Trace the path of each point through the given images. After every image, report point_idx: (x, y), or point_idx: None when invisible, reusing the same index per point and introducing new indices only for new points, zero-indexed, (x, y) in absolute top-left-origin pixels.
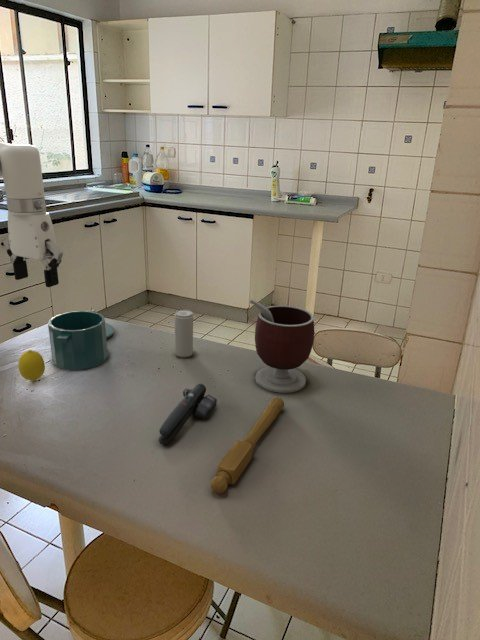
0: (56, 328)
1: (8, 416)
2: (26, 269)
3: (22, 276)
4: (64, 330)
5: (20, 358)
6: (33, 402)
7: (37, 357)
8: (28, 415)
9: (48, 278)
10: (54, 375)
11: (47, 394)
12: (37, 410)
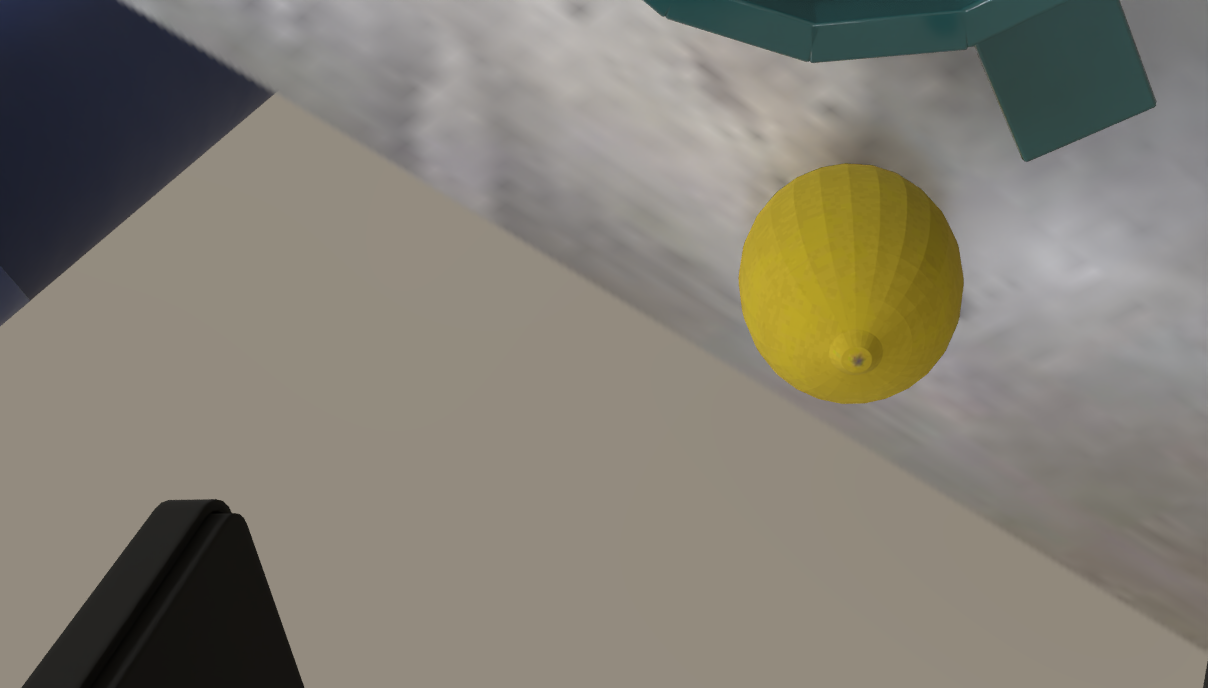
0: (865, 33)
1: (1074, 555)
2: (160, 660)
3: (266, 657)
4: (1017, 13)
5: (814, 396)
6: (1092, 395)
7: (943, 318)
8: (1186, 498)
9: None
10: (912, 57)
11: (1103, 282)
12: (1199, 440)
